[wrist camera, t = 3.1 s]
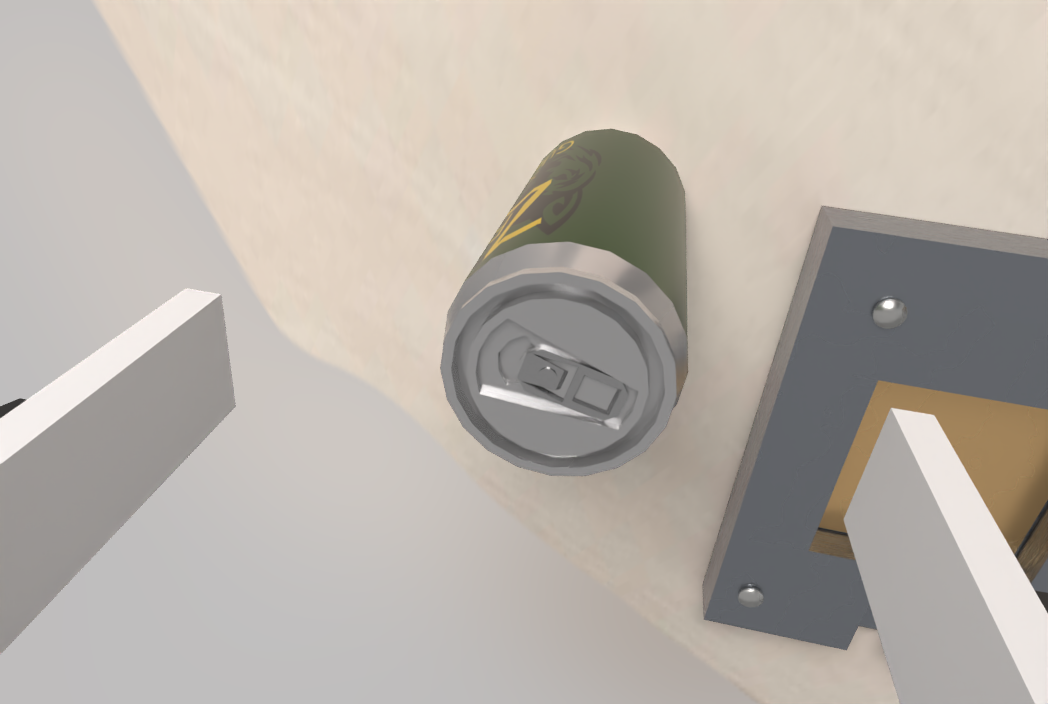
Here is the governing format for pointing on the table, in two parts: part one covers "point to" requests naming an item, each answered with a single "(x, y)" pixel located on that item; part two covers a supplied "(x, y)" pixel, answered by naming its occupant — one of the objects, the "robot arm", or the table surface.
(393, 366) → the table surface
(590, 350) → the beer can
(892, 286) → the chassis plate
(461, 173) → the table surface
